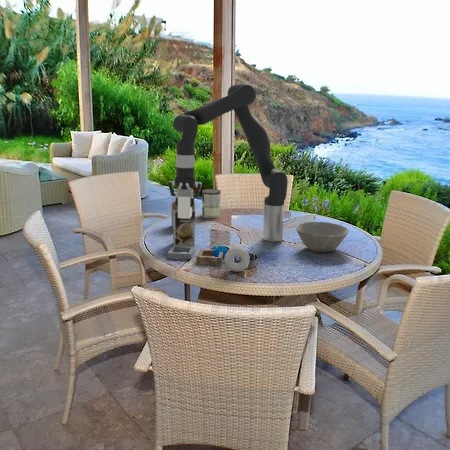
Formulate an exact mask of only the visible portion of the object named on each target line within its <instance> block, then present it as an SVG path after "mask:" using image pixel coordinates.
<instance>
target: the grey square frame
mask: <svg viewBox="0 0 450 450" xmlns="http://www.w3.org/2000/svg"><path fill="white" fill-rule="evenodd" d="M181 252H187V253H181ZM194 253H195V254H196V246H175V245H172V246H171V247H170V249H169V250H168V252H167V259H168V258H178V259H177V260H184V259H191V260H193V257H194V256H195V254H194ZM193 255H194V256H193Z"/></svg>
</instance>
